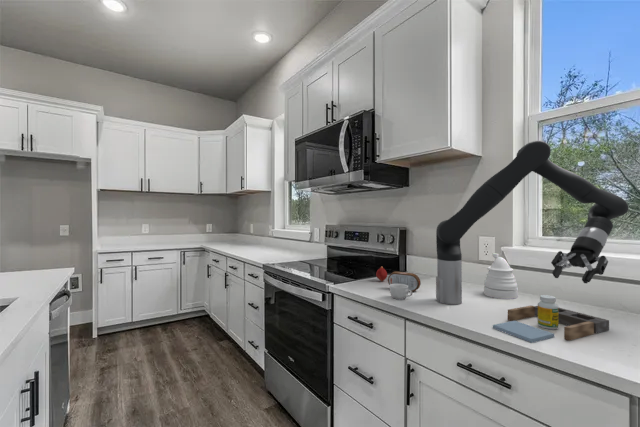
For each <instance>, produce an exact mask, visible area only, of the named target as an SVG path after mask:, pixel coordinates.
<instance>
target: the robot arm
mask: <svg viewBox="0 0 640 427" xmlns="http://www.w3.org/2000/svg"><path fill="white" fill-rule="evenodd" d="M551 150H552V149H551V146H550V144H548V143H547V142H546V141H543V140H533V141H530V142H528V143H526V144H525V145H523V146H522V147H521V148H520V149H519V150H518V151H517V152H516V156H515V158H514V159H512V160H511V161H510V163H509V164H507V166H505V167H503V168H502V169H501V170H500V171H498V172H497V173H496V172H495V174H493V175H492V176H490V178H489V179H488V180H486V181H485V182H484V183H483V184H481V186H480V187H478V188H477V189H476V190H475V191H474V192H473V193H472V195H471V196H470V197H469V198H468V200H467V201H466V202H465V204H464V205H463V206H462V207H461V209H459V210H458V211H457V212H456V213H454V214H453V215H452V216H451V217H449V218H448V219H445V220H442V221H441V222H440V223H438V225H437V227H436V231H435V232H436V234H435V236H436V240H435V242H436V243H435V244H436V260H437V261H436V262H437V263H436V264H437V265H436V266H437V267H436V268H437V269H436V270H437V274H436V276H435V299H436V301H437V302H438V303H440V304H447V305H460V304H462V303H463V294H462V293H463V290H462V289H463V287H462V286H463V284H462V282H463V277H462V276H463V275H462V274H463V271H462V270H463V269H462V268H463V266H462V265H463V263H462V262H463V260H462V259H463V258H462V257H463V255H462V254H463V253H462V250H461V239H462V238H463V237H464V235H465V234H466V233H467V232H468V231H469V230H470V229H471V228H472V226H474V224H475V223H477V222H478V221H479V220H480V219H482V218H483V217H484V216H486V215H487V214H488V213H489V212H490V211H492V210H493V208H495V207H496V206H497V205H499V204H500V203H502V201H503V200H504V199H505V198H506V197H507V196H508V195H509V194H510V193H511V192H512V191H514V189H515V188H516V187H517V186H518V185H519V184H520V183H521V181H523V179H525V178H526V177H527V176H528V175H529V174H531V173H536V174H537V175H539V176H541V177H543V179H546V180H548V181H549V182H551V183H552V184H554V185H555V186H557V187H558V188H560V189H562V191H564V192H565V193H567V194H568V195H569V196H571V197H573V199H575V200H576V201H578V202H579V203H581V204H583V205H584V204H593V205H592V206H591V207H590V208H589V210H588V214H587V220H586V223H585V225H584V226H583V228H582V230H581V231H580V232H579V234H578V235H577V236H576V239H575V240H574V242H573V244H572V245H571V247H570V251H569V252H568V253H565V252H563V251H561V250H559V251H558V252H557V253H556V254H555V256H554V257H553V258H552V261H551V262H550V263H551V266H553V268H554V269H553V271H552V275H553V277H554V278H555V279H559V277H560V275H561V274H562V272H563V270H564V269H569V268H571V267H574V268H575V267H576V268H577V267H579V268H581V269H582V268H583V269H584V268H586V269H587V270H585V272H584V274H583V276H582V278H581V281H582V282H583V283H584V284H588V283H590V282H591V281H592V279H593V277H594V276H595V275H600V276H603V274H604V273H605V270H606V268H607V266H608V263H609V261H608V258H607V257H606V255H601V253H602V251H603V249H604V247H605V246H606V244H607V240H608V238H609V236H610V234H611V232H612V230H613V227H614V224H613V222H612V221H611V220H613V219H616V218H619V217H622V216H623V215H626V214H627V212H628V211H629V205H628V203H627V202H626V200H625V199H624V198H622V197H620V196H619V195H617V194H614V193H611V192H609V191H607V190H604V189H602V188H599V187H597V186H595V185H594V184H593V183H591V181H589V180H587V179H586V178H584V177H583V176H580V175H579V174H577V173H575V172H572V171H570V170H568V169H565V168H563V167H561V166H559V165H557V164H556V163H554V162H553V161H552V160H550V156H551V153H552V152H551ZM600 255H601V256H600ZM568 262H569V263H568ZM595 263H597V264H596V266H595V267H594V268H593V266H592V264H593V265H594V264H595Z"/></svg>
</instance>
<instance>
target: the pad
mask: <svg viewBox="0 0 640 427" xmlns="http://www.w3.org/2000/svg"><path fill="white" fill-rule="evenodd" d="M492 329H494V330H497V331H499V330H500V332H502V331H503V333H505V332H506V333H505V334H507V333H508V335H510V334H511V336H512V335H514V336H513V337H515V336H516V337H515V338H517V339H518V338H519V339H520V338H521V340H523V339H524V340H523V341H525V342H528V341H529V343H531V344H533V343H536V341H537V342H540V340H541V341H544V340H548V339H552V338H555V333H554V332H552V331H548V330H544V329H543V328H542V329H541V328H539V327H535V326H532V325H529V324H528V323H527V324H526V323H523V322H520V321H518V320H514V321H506V322H500V323H496V324H492ZM532 342H533V343H532Z"/></svg>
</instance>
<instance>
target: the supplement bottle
mask: <svg viewBox="0 0 640 427" xmlns="http://www.w3.org/2000/svg"><path fill="white" fill-rule="evenodd" d="M539 300H540V301H538V302H537V306H538V316H537V325H538V327H540V328H542V329H547V330H558V329H559V326H560V325H559V324H560V323H559V318H558V317H559V313H558V307H559V305H558V304H557V303H556V301H557V299H556V297H555V296H554V295H549V294H541V295H539Z"/></svg>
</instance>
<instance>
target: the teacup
mask: <svg viewBox="0 0 640 427" xmlns="http://www.w3.org/2000/svg"><path fill="white" fill-rule="evenodd" d="M389 293H390V297H391V298H393V299H394V300H397V301H399V300H401V301H402V300H405V299H406V298H407V297H411V296H413V293H412V291H411V290H408V285H405V284H390V285H389ZM409 293H410V294H409Z"/></svg>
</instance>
